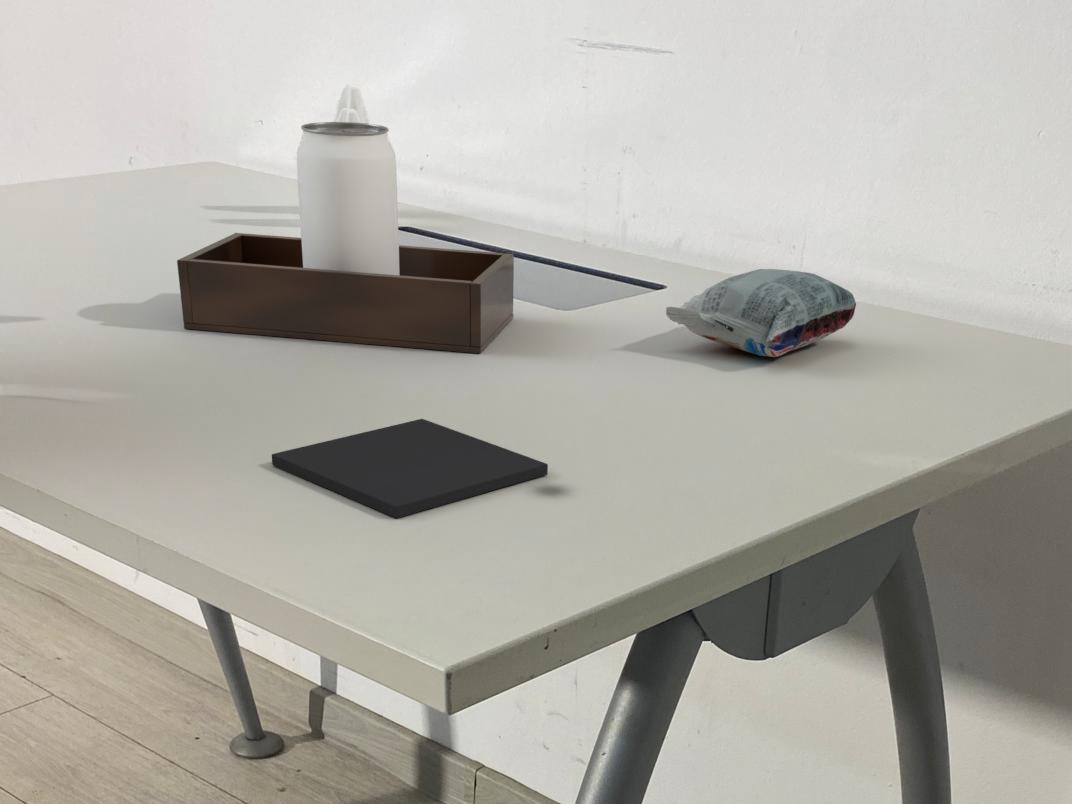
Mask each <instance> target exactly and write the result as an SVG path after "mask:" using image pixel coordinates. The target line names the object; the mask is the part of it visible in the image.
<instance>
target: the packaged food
mask: <svg viewBox="0 0 1072 804" xmlns="http://www.w3.org/2000/svg"><path fill="white" fill-rule="evenodd" d="M856 307H857V303H856V299H855V296H854V294H853V293H852V292H851V291H849V290H848V289H846V288H844V287H842V286H840V285H838V284H836V283H834V282H832V281H831V280H828V279H827V278H825V277H822V276H819V275H818V274H816V273H813V272H806V271H799V270H790V269H789V270H788V269H779V268H759V269H755V270H751V271H747V272H744V273H740V274H737V275H734V276H730V277H728V278H725V279H723V280H721V281H719V282H717V283H716V284H713V285H711V286H710V287H708V288H706V289H704V291H703V292H702V293H700V294H697V295H694V296H692V297H691V298H690V299H689V301H686V302H684V303H683V305H681V306H679V307H676V306H666V307H665V314H666V315H665V316H667V318H668V319H669V320H670V321H672V322H674V323H677V324H678V325H683V326H685V328H687V330H689V332H691V333H693V334H694V335H697V336H700V337H702V338H705V339H707V340H710V341H713V342H716V343H719V344H721V345H724V346H728V347H731V348H734V349H736V350H740V351H742V352H747V353H750V354H753V355H756V356H758V357H770V358H777V357H780V356H782V355H785V354H786V353H787V354H788V352H791V351H796V350H798V349H800V348H803V347H806V346H808V345H811V344H813V343H816V342H818V341H821V340H823V339H825V338H827V337H828V336H830V335H832V334H834V333H837V332H838V331H840V330H841V329H843V328H845V327H846V326H847V324H848V323H850V321H851V320H852V319H853V318H854V315H855V313H856V312H855V310H856Z"/></svg>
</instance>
